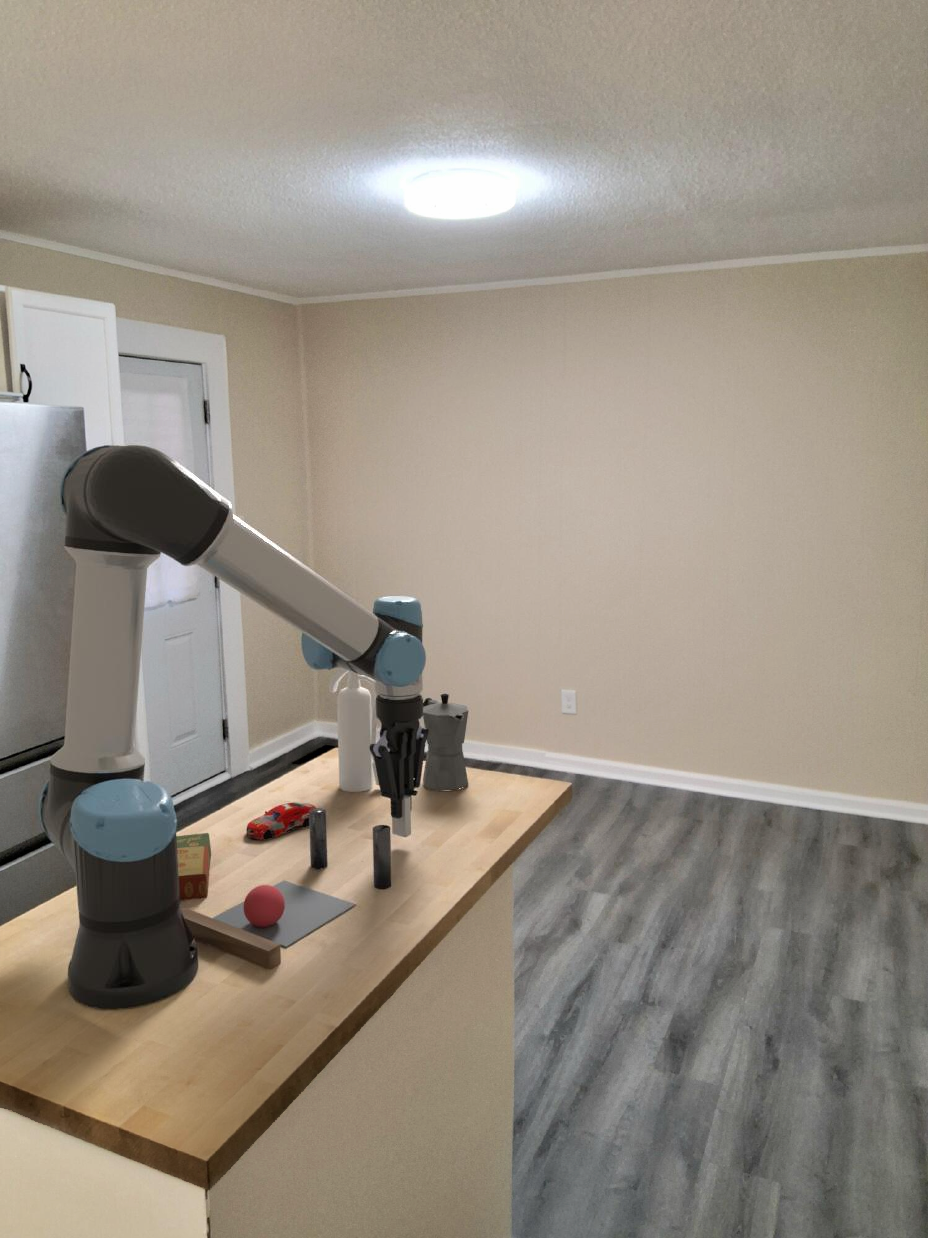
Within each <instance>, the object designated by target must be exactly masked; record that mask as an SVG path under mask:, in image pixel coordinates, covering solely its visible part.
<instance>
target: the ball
mask: <svg viewBox="0 0 928 1238" xmlns="http://www.w3.org/2000/svg"><path fill="white" fill-rule="evenodd" d="M273 886H274V885H269V884H261V885H258V886H255V887H254V888H252V889H251V890H250V891H249V892H248V894H247V895H246V896H245V897H244V901H243V902H244V907H243V908H244V914H245V916H246V918H247V920H248V921H249V922H250V923H251V924H253V925H255V926H258V927H268V926H271V925H273V924H275V923H276V922H277V921H278V920H279V919H280V918H281V916H282V915H283V912H284V908H285V901H284V898H283V895H282V894H281V892H280V891H279V890H278V889H277V888H275V887H273Z"/></svg>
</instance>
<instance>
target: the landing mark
mask: <svg viewBox="0 0 928 1238" xmlns="http://www.w3.org/2000/svg"><path fill="white" fill-rule="evenodd" d="M272 886H273V887H275V888H277V889H278V890H279V891H280V892H281V894H282V895H283V898H284V901H285V908H284V912H283V915H282V916H281V918H280V919H279V920H278V921H277V922H276V923H275V924H273V925H271V926H268V927H258V926H255V925H253V924H251V923H250V922H249V921H248V920H247V918H246V916H245V914H244V908H243V907H244V901H242V902H240V903H238V904H236V905H234V906H233V907H231V908H229V909H226V910H225V911H223V912H221V913H219V914H216V915H215V916H213V917H212V918H213V919H216V920H218V921H221V922H223V923H226V924H229V925H231V926H234V927H236V928H239V929H242V930H244V931H247V932H249V933H252V934H255V935H257V936H260V937H262V938H265V939H268V940H270V941H273V942H276V943H278V944H280V947H283V948H285V949H287V948H288V947H291V946H292V945H293V944H295V943H297V942H298V941H300V940H302V939H303V938H304V937H306V936H308V935H310V934H311V933H313V932H315V931H317V930H318V929H319V928H322V927H323V926H325V925H326V924H328V923H329V922H331V921H333V920H334V919H336V918H338V917H340V916H341V915H343V914H344V913H346V912H348V911H349V910H351V909H352V908H354V907H356V906H357V905H356V904H357V903H354V902H351V901H347V900H345V899H342V898H339V897H335V896H332V895H330V894H327V893H324V892H320V891H318V890H314V889H311V888H308V887H305V886H303V885H299V884H296V883H293V882H291V881H287V880H285V879H284V880H282V881H280V882H278V883H275V884H274V885H272Z"/></svg>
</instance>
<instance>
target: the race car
mask: <svg viewBox="0 0 928 1238" xmlns="http://www.w3.org/2000/svg"><path fill="white" fill-rule="evenodd" d="M314 808H317V807H316V806H315V805H314V804H311V803H309V802H288V803H282V804H280V805H277V806H274V807H272V808H270V809H269V810H268V811H267V810H266V811H264V814H263V815H261V816H258V817H257V818H254V819H252V820H251V821H250V822H248V823H247V825H246V836H247V837H249V838H252V839H255V840H264V841H268V840H270V839H273V838H274V837H278V836H280V835H284V834H287V833H290V832H294V831H297V830H300V829H303V828H305V829H306V828H308V827H309V810H311V809H314Z"/></svg>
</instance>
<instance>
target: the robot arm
mask: <svg viewBox="0 0 928 1238" xmlns="http://www.w3.org/2000/svg"><path fill="white" fill-rule="evenodd" d="M58 493H59V494H58V495H59V500H60V505H61V509H62V511H63V513H64V515H65V517H66V518H65V520H66V521H65V532H64V534H65V536H64V550H66V552H67V553H68V554H69V555H70V556H71V558H73V560H74V561H75V563H76V564H75V566H76V567H75V581H74V594H73V595H74V596H73V607H72V608H73V609H72V610H73V611H72V623H71V624H72V626H71V636H70V637H71V638H70V639H71V640H70V641H71V642H70V654H69V657H70V658H69V669H68V681H67V682H68V683H67V684H68V685H67V698H66V700H67V701H66V712H65V713H66V714H65V715H66V717H65V729H64V743H63V745H62V747H61V748H60V749H58V750H57V751H56V752H55V753H54V754H53V755H51V757H50V762H49V763H50V764H49V774H48V775H49V776H48V777H49V778H48V779H47V780H46V782H45V783H44V784H43V787H42V790H41V793H40V796H39V799H38V800H39V802H38V814H39V819H40V820H39V821H40V823H41V828H42V829H43V830H44V833H45V834H46V836H47V838H48V839H49V841H50V842H51V843H52V844H53V845H55V846H56V848H57V850H59V852H60V853H61V854H62V856H63V857H64V858H65V859H66V861H67V862H68V863H69V865H70V866H71V868H72V869H73V871H74V875H75V884H76V885H75V886H76V896H77V898H76V899H77V908H78V921H79V923H78V930H77V933H76V938H75V942H74V946H73V949H72V954H71V958H70V961H69V963H68V966H67V967H68V968H67V982H68V984H67V985H68V992H69V994H70V996H71V998H73V999H74V1001H76V1002H78V1003H79V1004H81V1005H84V1006H87V1007H90V1008H92V1009H93V1008H94V1009H101V1010H125V1009H126V1010H127V1009H133V1008H137V1007H142V1006H146V1005H149V1004H153V1003H156V1002H159V1001H161V1000H164V999H167V998H168V997H170V996H173V995H175V994H176V993H178V992H179V991H181V990H182V989H184V988H185V987H186V986H187V985H189V983H190V982H191V981H193V979H194V978H195V976H196V975H197V973H198V970H199V951H198V946H197V943H196V941H195V939H194V938H193V936H192V933H191V931H190V929H189V927H188V924H187V922H186V920H185V918H184V915H183V913H182V911H181V909H182V908H181V901H180V895H179V875H178V857H177V839H176V836H177V828H178V827H177V826H178V818H177V814H176V811H175V807H174V800H173V798H172V796H171V794H170V793H169V791H168V790H167V789H165V788H164V787H163V786H161V785H160V784H157V783H155V782H152V781H149V780H148V781H147V780H146V781H144V780H145V779H144V778H145V767H146V766H145V765H146V759H145V757H144V756H143V754H142V753H141V752H140V751H138V749H137V748H136V747H135V737H136V726H137V725H136V724H137V712H138V697H139V685H140V672H141V671H140V669H141V658H142V657H141V656H142V644H143V632H144V631H143V629H144V618H145V603H146V593H147V590H146V589H147V578H148V577H147V576H148V568H149V567H150V566H151V565H152V564H153V563H154V562H156V560H158V559H159V558H160V557H161V554H164V555H166V556H168V557H169V558H171V559H173V560H174V561H176V562H177V563H179V564H180V565H182V566H184V567H190V566H191V567H192V566H194V565H197V566H199V567H200V568H202V569H203V570H205V571H206V572H208V573H209V574H211V575H213V576H214V577H216V578H218V580H220V581H222V582H223V583H224V584H226V585H228V586H229V587H231V588H233V589H234V590H235V591H237V592H239V593H241V594H242V595H243V596H245V597H247V598H248V599H250V600H251V601H252V602H254V603H256V604H257V605H259V606H261V607H262V608H264V609H265V610H267V611H268V612H270V613H272V614H273V615H275V616H276V617H278V618H279V619H281V620H283V621H284V622H285V623H286V624H288V625H290V626H292V627H293V628H294V629H296V630H297V631H299V632H301V639H300V641H301V643H300V645H301V652H302V655H303V658H304V661H305V662H306V664H307V665H308V666H309V667H310V668H311V669H313V670H314V671H315V670H317V671H321V670H328V671H330V670H334V669H333V668H344V669H346V670H349V671H352V672H355V673H358V674H359V675H364V676H367V677H369V678H371V679H373V680H374V681H375V691H376V692H377V693H378V695H377V697H376V716H377V719H378V720H379V721H380V723H381V726H380V731H379V739H378V740H377V742H376V744H371V745H370V751H371V753H372V755H373V757H374V760H375V766H376V771H377V776H378V781H379V785H378V786H379V789H380V790H379V791H380V795H381V796H382V797H384V798H388V799H390V817H391V821H392V823H391V825H392V826H391V828H392V829H391V830H392V831H391V832H392V833H391V834H392V835H396V836H398V837H401V838H402V837H403V838H407V837H409V836H411V835H412V814H411V813H412V809H413V807H412V803H413V801H412V796H414V797H417V795H418V790H415V789H418V788H420V786H421V782H422V781H421V780H422V776H423V775H422V772H423V766H424V765H423V764H424V758H425V750H426V744H427V737H428V734H429V729H428V728H425V727H423V726H421V725H420V720H421V719H422V718H423V703H424V696H423V695H422V691H423V690H424V687H423V686H424V685H423V671H424V670H425V667H426V662H427V655H426V654H427V653H426V650H425V649H426V648H425V647H424V644H423V628H424V624H423V612H422V604H421V602H420V600H418V599H417V598H415V597H412V596H404V595H390V596H382V597H378V598H376V599H375V600H374V603H373V608H372V612H371V610H369V609H367V608H366V607H365V606H363V605H362V604H360V603H359V602H357V601H356V600H355V599H353V598H352V597H350V596H349V595H348V594H346V593H345V592H343V591H342V590H340V589H339V588H338V587H336V586H335V585H334V584H333V583H331V582H330V581H328V580H327V579H325V578H324V577H322V576H321V575H319V573H317V572H316V571H315V570H312V569H311V568H310V567H308V566H307V565H305V564H304V563H303V562H301V561H300V560H298V559H297V558H296V557H294V556H293V555H292V554H290V553H289V552H287V551H286V550H284V548H282V547H280V546H279V545H277V544H276V543H274V542H273V541H271V540H270V539H269V538H267V537H266V536H265V535H263V534H262V533H260V532H259V531H258V530H256V529H255V528H253V527H252V526H250V525H249V524H248V523H246V522H245V521H243V520H242V519H241V518H239V517H238V516H236V515H235V514H234V513H233V509H232V507H233V506H232V503H231V501H229V500H228V499H227V498H226V497H224V496H223V495H221V494H220V493H218V492H217V491H216V490H215V489H213V488H212V487H210V486H209V485H208V484H207V483H205V481H203V480H202V479H200V478H199V477H198V476H197V475H195V474H194V473H193V472H191V471H190V470H189V469H187V468H186V467H184V466H183V465H182V464H181V463H180V462H178V461H177V460H175V459H174V458H172V457H170V456H169V455H167V454H166V453H164V452H162V451H161V450H158V449H156V448H153V447H150V446H146V445H138V444H136V445H135V444H133V445H130V444H129V445H113V444H112V445H109V444H105V445H101V446H96V447H93V448H91V449H89V450H87V451H84V452H83V453H81V454H80V455H77V457H75V458H74V459H72V460H71V462H70V463H69V464H68V466H67V467H66V469H65V470H64V472H63V474H62V476H61V478H60V483H59V489H58Z"/></svg>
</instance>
